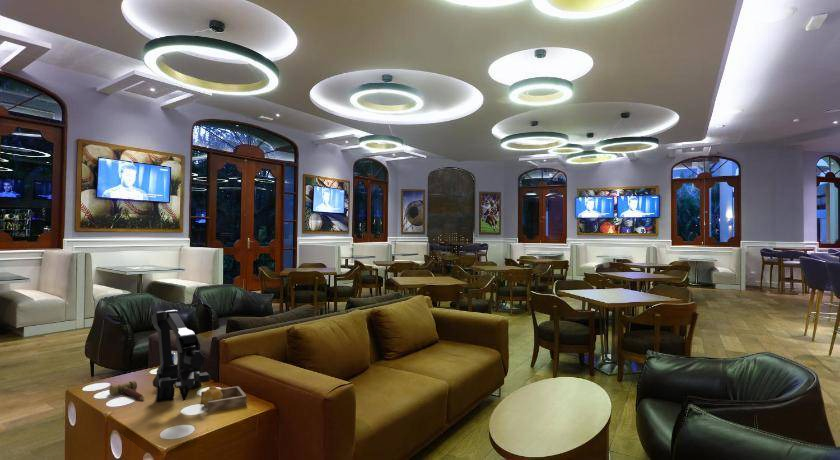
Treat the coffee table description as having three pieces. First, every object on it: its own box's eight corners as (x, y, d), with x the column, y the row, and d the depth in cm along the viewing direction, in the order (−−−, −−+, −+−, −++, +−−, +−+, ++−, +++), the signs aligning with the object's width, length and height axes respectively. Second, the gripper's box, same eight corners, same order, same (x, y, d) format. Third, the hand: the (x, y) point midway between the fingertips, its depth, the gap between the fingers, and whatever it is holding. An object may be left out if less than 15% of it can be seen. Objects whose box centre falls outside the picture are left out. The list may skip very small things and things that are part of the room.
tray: (207, 412, 188) (207, 402, 188) (201, 400, 201) (201, 391, 201) (246, 405, 197) (246, 396, 198) (238, 394, 210) (238, 386, 210)
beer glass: (179, 380, 227) (180, 351, 227) (170, 385, 220) (171, 354, 220) (166, 380, 228) (168, 350, 228) (157, 384, 221) (158, 353, 221)
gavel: (155, 391, 203) (131, 397, 194) (154, 401, 203) (130, 407, 194) (132, 379, 214) (109, 384, 206) (132, 388, 214) (108, 394, 206)
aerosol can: (205, 386, 220) (206, 345, 221) (188, 390, 213) (190, 348, 214) (195, 382, 225) (197, 342, 225) (179, 387, 218) (181, 345, 218)
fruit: (209, 394, 202) (206, 382, 198) (227, 397, 202) (224, 384, 198) (200, 409, 195) (197, 397, 191) (218, 412, 195) (215, 400, 191)
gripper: (162, 371, 179) (160, 410, 178) (213, 365, 190) (211, 402, 189) (159, 364, 188) (157, 402, 187) (208, 358, 199) (206, 394, 198)
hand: (183, 400), depth 190 cm, fingers closed
